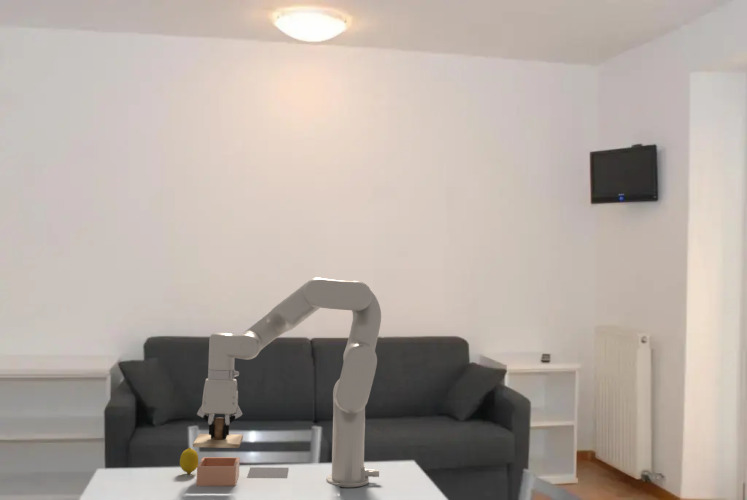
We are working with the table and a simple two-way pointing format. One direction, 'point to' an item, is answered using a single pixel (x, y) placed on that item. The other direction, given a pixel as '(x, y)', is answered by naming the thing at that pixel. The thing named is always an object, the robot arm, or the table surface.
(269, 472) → the mat
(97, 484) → the table surface
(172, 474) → the table surface
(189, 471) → the lemon
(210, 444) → the lid
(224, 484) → the pink open box
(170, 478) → the table surface
